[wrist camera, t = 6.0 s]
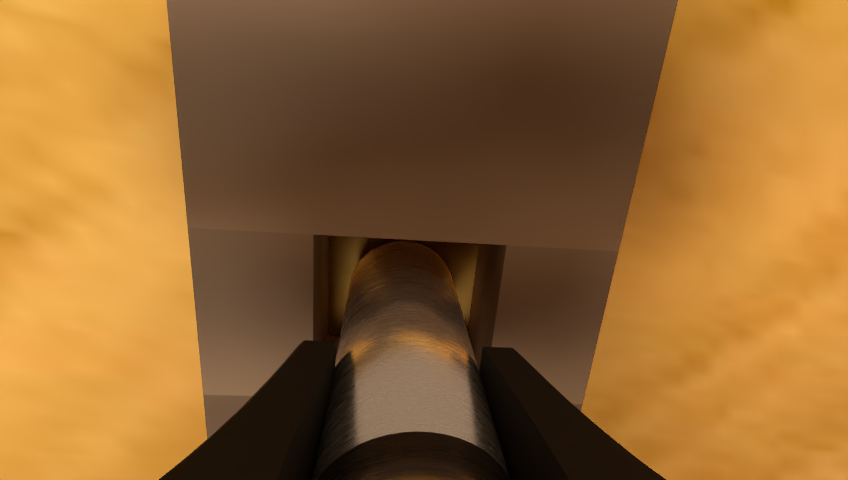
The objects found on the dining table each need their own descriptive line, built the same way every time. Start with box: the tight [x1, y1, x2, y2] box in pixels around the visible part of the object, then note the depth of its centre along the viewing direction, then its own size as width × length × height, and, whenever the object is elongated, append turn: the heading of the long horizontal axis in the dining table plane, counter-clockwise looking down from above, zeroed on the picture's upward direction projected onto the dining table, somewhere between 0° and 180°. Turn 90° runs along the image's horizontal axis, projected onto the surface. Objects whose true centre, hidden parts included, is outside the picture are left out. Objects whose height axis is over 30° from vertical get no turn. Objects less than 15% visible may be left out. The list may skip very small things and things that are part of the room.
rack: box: [167, 0, 678, 439], centre depth 13 cm, size 12×10×3 cm
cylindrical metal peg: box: [312, 241, 510, 480], centre depth 10 cm, size 3×3×9 cm
